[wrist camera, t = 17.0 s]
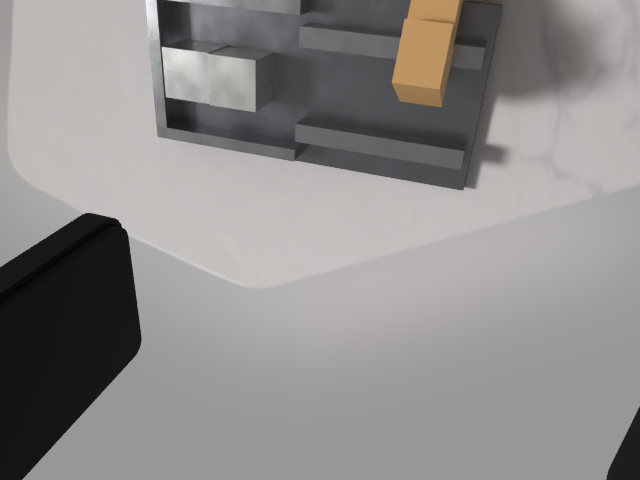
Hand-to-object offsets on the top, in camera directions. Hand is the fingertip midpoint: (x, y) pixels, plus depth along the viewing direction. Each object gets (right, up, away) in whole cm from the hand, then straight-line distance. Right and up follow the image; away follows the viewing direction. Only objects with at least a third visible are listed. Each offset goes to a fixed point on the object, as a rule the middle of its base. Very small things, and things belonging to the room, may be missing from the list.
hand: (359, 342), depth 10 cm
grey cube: (-7, +16, +36) cm, 40 cm away
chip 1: (-10, +17, +37) cm, 42 cm away
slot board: (-1, +15, +36) cm, 39 cm away
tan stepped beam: (+6, +11, +27) cm, 30 cm away
